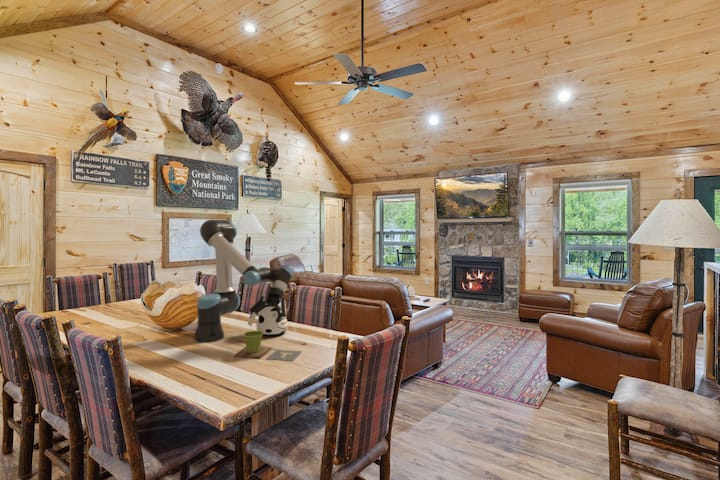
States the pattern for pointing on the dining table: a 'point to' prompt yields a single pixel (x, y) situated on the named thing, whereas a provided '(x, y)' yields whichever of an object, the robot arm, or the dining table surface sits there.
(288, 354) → the slate mat
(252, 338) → the plant pot
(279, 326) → the milk container
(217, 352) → the dining table surface
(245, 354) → the walnut board
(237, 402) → the dining table surface
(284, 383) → the dining table surface
